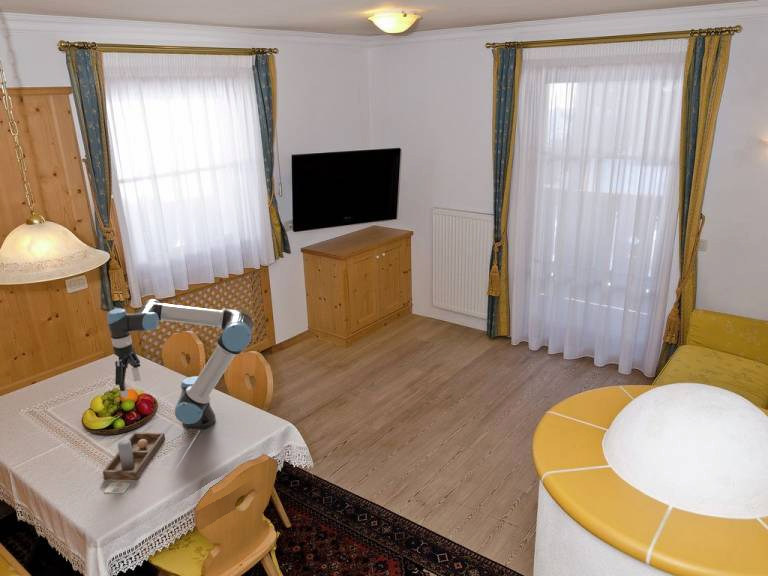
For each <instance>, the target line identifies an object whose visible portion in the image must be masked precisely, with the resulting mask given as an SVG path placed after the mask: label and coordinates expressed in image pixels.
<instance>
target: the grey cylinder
mask: <svg viewBox="0 0 768 576" xmlns="http://www.w3.org/2000/svg"><path fill="white" fill-rule="evenodd" d="M117 449H118V452H119V455H120V460H121V466H122V470H123V471H129V470H132V469H133V468H134V467H135V463H134V458H133V452H132V446H131V441H130V440H128V439H123V440H121V441H118V442H117Z"/></svg>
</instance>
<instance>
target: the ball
mask: <svg viewBox="0 0 768 576" xmlns="http://www.w3.org/2000/svg"><path fill="white" fill-rule="evenodd" d="M146 446H147V441H146V440H145V439H141V440H139V441H138V447H139V448H145V447H146Z"/></svg>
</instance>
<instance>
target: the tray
mask: <svg viewBox="0 0 768 576" xmlns="http://www.w3.org/2000/svg"><path fill="white" fill-rule="evenodd" d="M141 439H145V440H146V441H147V446H146V447H145V448H139V447H138V441H139V440H141ZM165 439H166V436H165V433H164V432H133V433H132V434H131V435H130V437H129V438H128V439H127V440H130V441H131V446H132V452H133V458H134V463H135V467H134V468H133V469H132V470H129V471H123V470H122V466H121V460H120V455H119V451H118V452H117V453H115V455H114V457H113V458H112V459H111V460H110V462H109V463H108V464H107V466H105V468H104V469H103V471H102V474H103V478H104V480H107V481H134V482H135V481H137V482H138V481H139V480H140V478H141V477H140V476H141V474H142V473H143V471H144V469H145V468H146V466H147V465H148V464H149V462H150V461H151V459H152V458H153V457H154V456H155V454H156V452H157V451H158V449H159V448H160V447H161V446H162V444H163V442H164V441H165Z"/></svg>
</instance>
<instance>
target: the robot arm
mask: <svg viewBox="0 0 768 576" xmlns="http://www.w3.org/2000/svg"><path fill="white" fill-rule="evenodd" d="M106 318H107V325H108V328H109V334H110V340H111V343H112V346H113V347H112V349H113V354H114V355H115V356H116V357H118V361H117V360H116V361H115V363H114V365H115V378H114V379H115V382H114V383H115V386H118V388H119V392H120V397H121V398H128V397H129V392H128V388H127V387H128V386H127V383H126V382H125V381H126V374H127V369H128V367H129V365H130V366H131V373H132V378H133V382H141V375H140V369H139V368H140V367H141V364H140V363H141V360H140V359H139V358H138V357H139V356H138V355H137V353H136V352H135V348H134V347H133V346H134V345H133V340H132V336H131V332H142V331H153V330H158V327H159V323H160V321H165V322H166V321H167V322H176V323H183V324H193V325H199V326H208V327H209V326H210V327H216V328H217V327H218V328H219V329H220V330H222V331H221V332H220V335H219V336H218V338H217V339H216V340H217V341H216V344H217V346H216V348H215V349H214V351H213V352H212V354H211V356H210V357H209V359H208V360H207V362H206V363H205V365H204V367H203V368H202V370H201V371H200V373H199V375H198V376H197V375H193V376H189V377H187V378H184V379H182V380H181V382H180V387H181V393H180V396H179V399H178V401H177V403H176V405H175V409H174V416H175V418H176V419H177V420H178V421H179V422H180V423H182V426H183V427H185V428H188V429H191V430H192V429H193V430H196V429H199V430H198V431H201V430H205V429H208V428H209V427H211V426H212V425H214V424H215V422H216V413H215V411H214V410H213V407H212V406H211V403H210V401H211V393H212V392H213V390H214V389H215V387H216V385H217V384H218V383H219V381H220V379H221V378H222V376H223V375H224V374H225V372H226V370H227V368H228V367H229V366H230V364H231V363H232V361H233V359H234V358H235V357H236V356H239V355H241V353H242V352H243V351H244V350H245V349H246V348H247V347H248V345H250V342H251V340H252V332H253V328H254V322H253V319H252V318H251V316H250V315H249V314H248V313H247V312H245V311H243V310H239V309H234V308H233V309H232V308H222V309H214V308H205V307H204V308H203V307H196V306H188V305H177V304H170V303H161V302H160V301H159V300H157V299H154V298H151V299H148V300H146V301H145V302H144V303H143V304H142V306H141V308H140V309H139V311H138V312H137V313H127V311H126V309H124V308H114V309H110V310H109V311H108V312H107V314H106Z"/></svg>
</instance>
